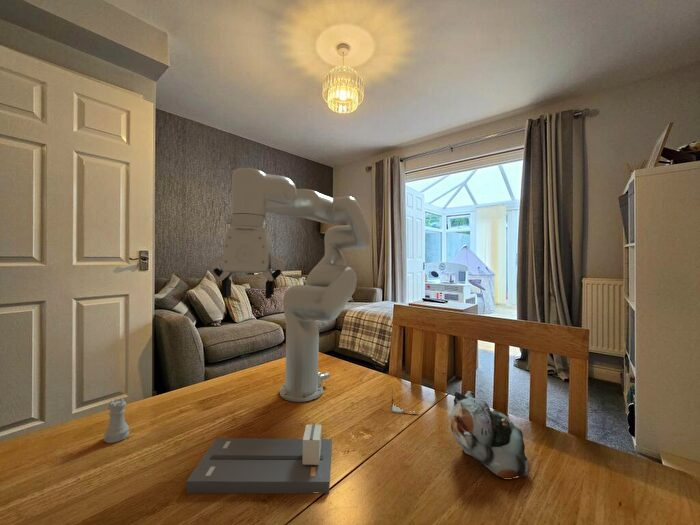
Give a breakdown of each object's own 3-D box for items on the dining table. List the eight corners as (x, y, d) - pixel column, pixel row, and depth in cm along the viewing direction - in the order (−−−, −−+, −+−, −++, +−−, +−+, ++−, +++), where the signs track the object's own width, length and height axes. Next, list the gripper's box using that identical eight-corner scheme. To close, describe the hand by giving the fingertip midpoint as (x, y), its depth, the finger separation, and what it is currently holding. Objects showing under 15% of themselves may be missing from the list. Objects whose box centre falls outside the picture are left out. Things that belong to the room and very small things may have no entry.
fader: (302, 464, 55) (302, 438, 54) (305, 447, 60) (306, 423, 59) (319, 464, 55) (319, 438, 55) (321, 447, 60) (321, 423, 60)
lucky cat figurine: (533, 493, 52) (498, 424, 51) (465, 490, 59) (433, 430, 58) (527, 427, 65) (499, 371, 64) (472, 431, 71) (446, 380, 70)
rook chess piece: (115, 445, 63) (115, 407, 63) (98, 442, 64) (98, 405, 63) (134, 433, 67) (135, 397, 67) (118, 430, 68) (118, 395, 68)
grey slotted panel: (186, 492, 51) (186, 480, 51) (216, 447, 63) (216, 437, 63) (329, 493, 51) (329, 481, 51) (331, 448, 63) (331, 438, 63)
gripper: (203, 221, 66) (202, 299, 66) (283, 223, 66) (281, 300, 67) (218, 224, 73) (217, 294, 74) (289, 226, 74) (288, 296, 74)
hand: (247, 297), depth 70 cm, fingers open, 9 cm apart
